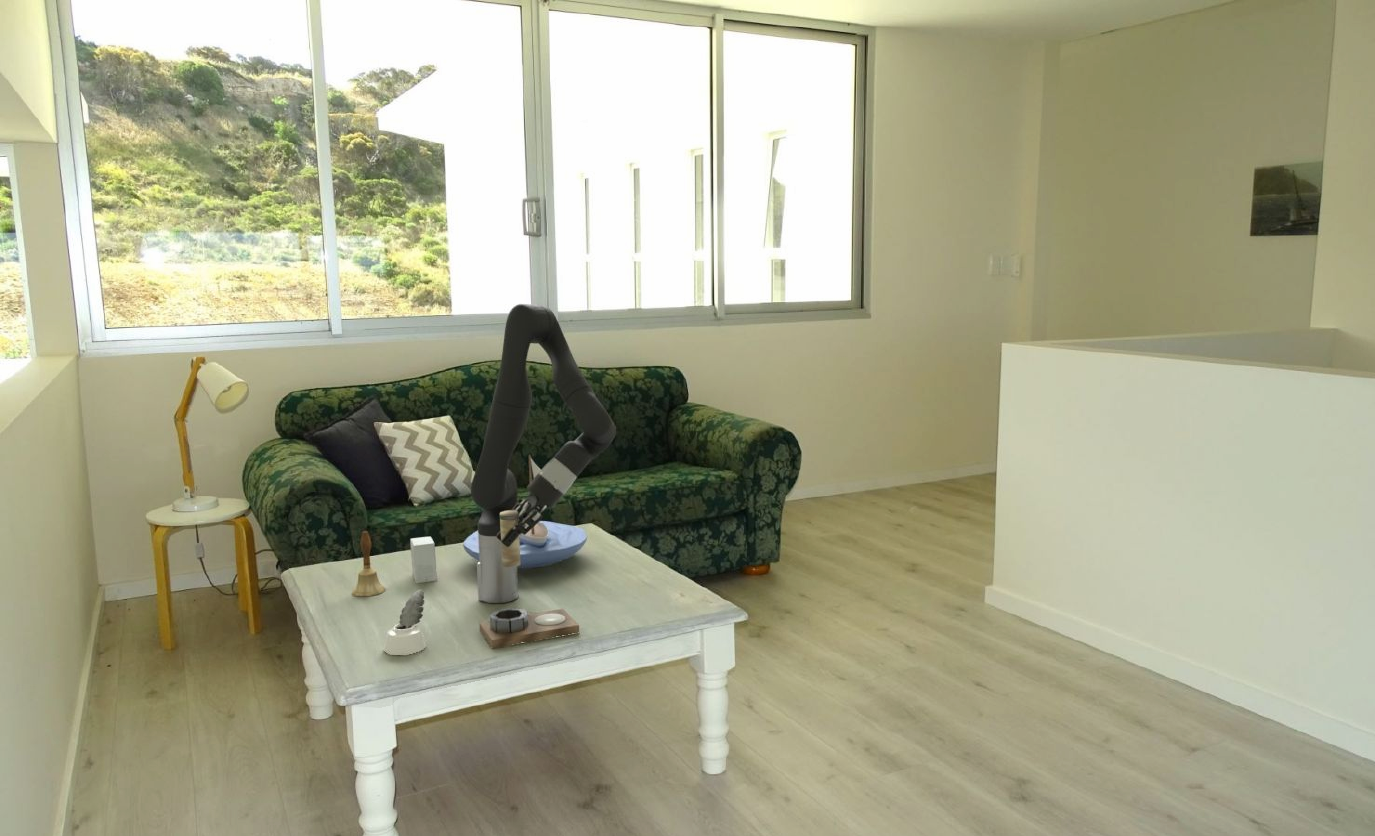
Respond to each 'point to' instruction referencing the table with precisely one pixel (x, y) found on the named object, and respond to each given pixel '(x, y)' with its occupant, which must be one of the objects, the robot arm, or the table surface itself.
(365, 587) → the hand bell
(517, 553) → the wooden peg
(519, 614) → the ring
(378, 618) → the table surface
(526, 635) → the walnut board
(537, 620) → the rest disc
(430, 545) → the small box
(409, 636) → the inkwell
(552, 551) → the sailboat
